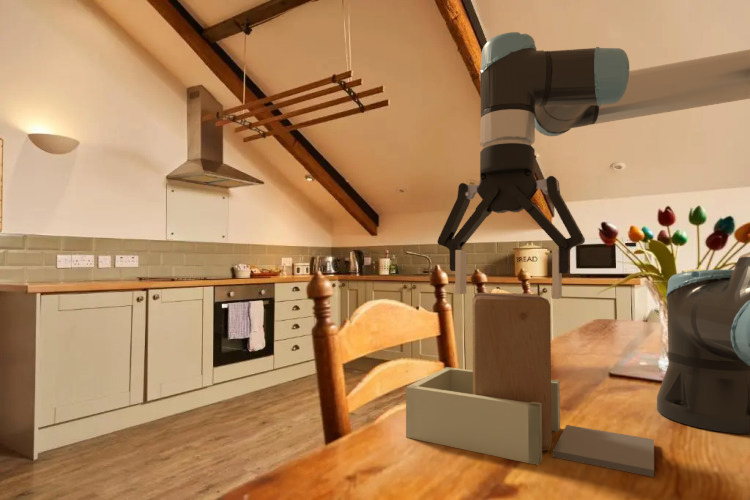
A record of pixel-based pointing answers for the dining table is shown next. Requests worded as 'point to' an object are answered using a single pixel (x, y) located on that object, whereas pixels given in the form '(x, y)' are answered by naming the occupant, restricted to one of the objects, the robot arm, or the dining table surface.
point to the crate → (476, 417)
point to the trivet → (606, 450)
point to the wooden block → (513, 351)
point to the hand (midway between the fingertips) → (506, 296)
